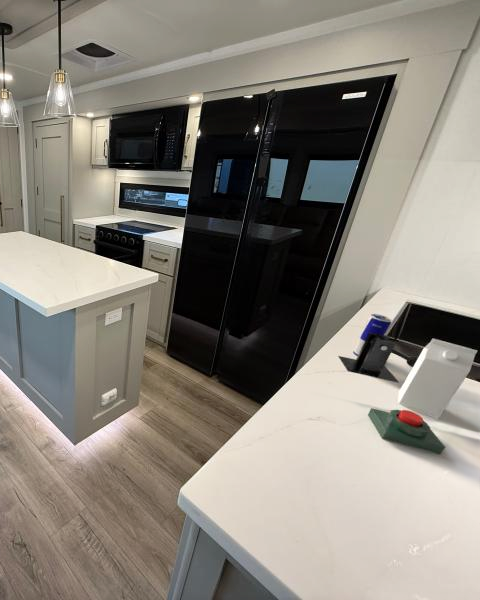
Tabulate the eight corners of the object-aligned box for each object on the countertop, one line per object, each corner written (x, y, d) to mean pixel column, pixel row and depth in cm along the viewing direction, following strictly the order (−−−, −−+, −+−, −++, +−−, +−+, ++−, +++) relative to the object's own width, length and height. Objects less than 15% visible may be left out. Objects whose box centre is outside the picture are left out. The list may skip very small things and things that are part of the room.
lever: (412, 366, 90) (422, 358, 88) (418, 372, 87) (429, 364, 85) (367, 342, 92) (376, 334, 90) (372, 347, 89) (381, 339, 88)
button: (414, 418, 71) (418, 412, 70) (423, 429, 68) (427, 423, 67) (394, 413, 72) (398, 407, 71) (402, 424, 69) (406, 418, 68)
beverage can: (358, 361, 98) (378, 319, 92) (348, 352, 103) (366, 312, 97) (375, 363, 98) (397, 321, 92) (365, 354, 102) (384, 314, 96)
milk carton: (397, 394, 84) (432, 333, 77) (434, 408, 80) (475, 345, 72) (396, 406, 79) (433, 343, 72) (436, 422, 75) (479, 356, 67)
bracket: (383, 368, 95) (400, 335, 91) (397, 385, 88) (417, 350, 83) (336, 358, 99) (351, 326, 95) (346, 374, 92) (362, 340, 87)
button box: (419, 428, 73) (428, 415, 71) (440, 454, 66) (450, 441, 64) (367, 414, 76) (374, 402, 75) (381, 438, 69) (389, 425, 68)
